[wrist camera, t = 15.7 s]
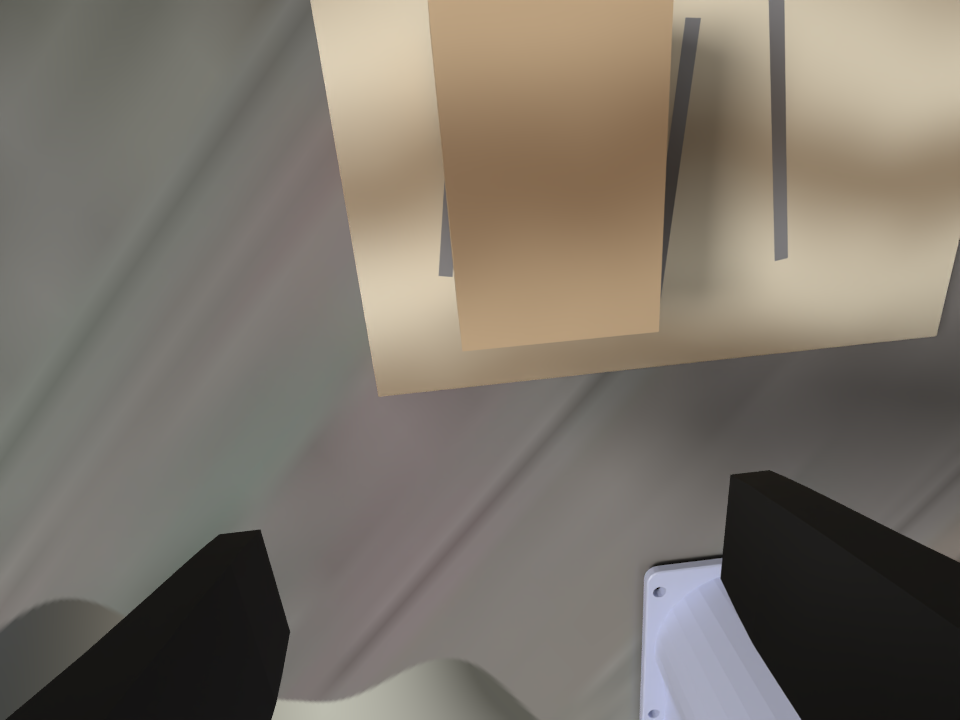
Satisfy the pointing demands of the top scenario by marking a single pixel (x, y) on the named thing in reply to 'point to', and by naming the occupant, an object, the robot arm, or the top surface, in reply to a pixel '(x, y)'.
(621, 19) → the block
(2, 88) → the top surface
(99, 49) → the top surface
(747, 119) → the board
